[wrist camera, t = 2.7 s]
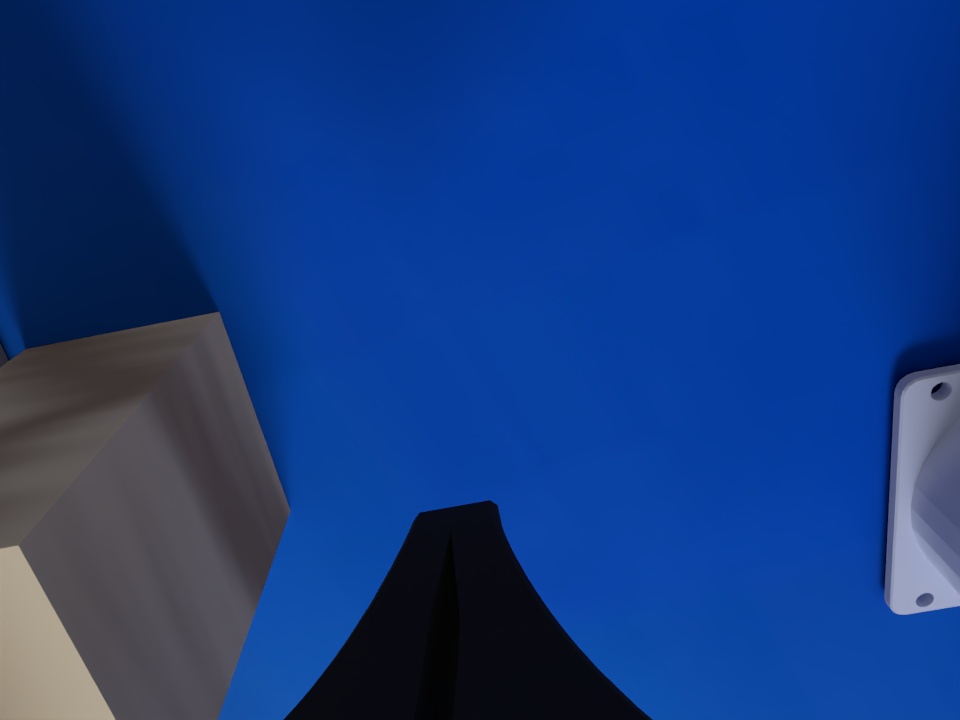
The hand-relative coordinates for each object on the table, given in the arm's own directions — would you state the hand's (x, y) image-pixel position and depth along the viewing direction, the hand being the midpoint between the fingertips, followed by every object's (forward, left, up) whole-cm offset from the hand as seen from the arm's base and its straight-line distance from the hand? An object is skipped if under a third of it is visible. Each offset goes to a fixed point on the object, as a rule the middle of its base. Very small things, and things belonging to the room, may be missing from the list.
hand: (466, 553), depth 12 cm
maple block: (+8, 0, -7) cm, 11 cm away
